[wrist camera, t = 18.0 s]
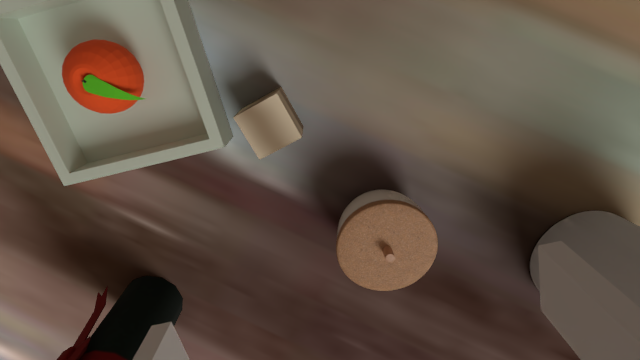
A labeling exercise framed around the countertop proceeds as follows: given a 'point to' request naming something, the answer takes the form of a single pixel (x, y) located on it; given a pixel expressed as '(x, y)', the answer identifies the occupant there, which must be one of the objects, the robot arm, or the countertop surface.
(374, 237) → the lidded jar
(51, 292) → the countertop surface
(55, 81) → the sage tray
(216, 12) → the countertop surface
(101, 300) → the wine bottle
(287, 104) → the wood block
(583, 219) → the utensil holder
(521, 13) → the countertop surface
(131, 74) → the clementine
